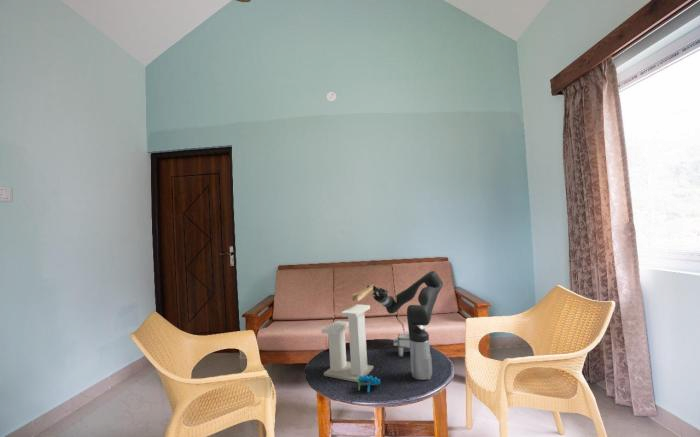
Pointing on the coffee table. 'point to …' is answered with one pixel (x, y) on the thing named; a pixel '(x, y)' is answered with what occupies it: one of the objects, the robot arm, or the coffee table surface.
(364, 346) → the two-step rack
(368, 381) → the blue legged figure
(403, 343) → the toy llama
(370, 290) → the wooden slat
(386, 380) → the coffee table surface
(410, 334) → the robot arm
